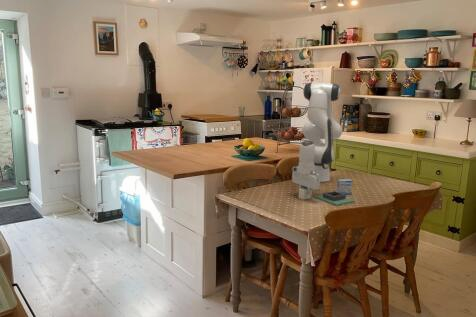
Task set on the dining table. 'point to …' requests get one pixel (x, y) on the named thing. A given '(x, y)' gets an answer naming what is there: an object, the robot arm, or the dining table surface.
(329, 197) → the header board
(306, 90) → the robot arm
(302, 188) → the keyed plug
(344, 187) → the medicine box
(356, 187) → the dining table surface
